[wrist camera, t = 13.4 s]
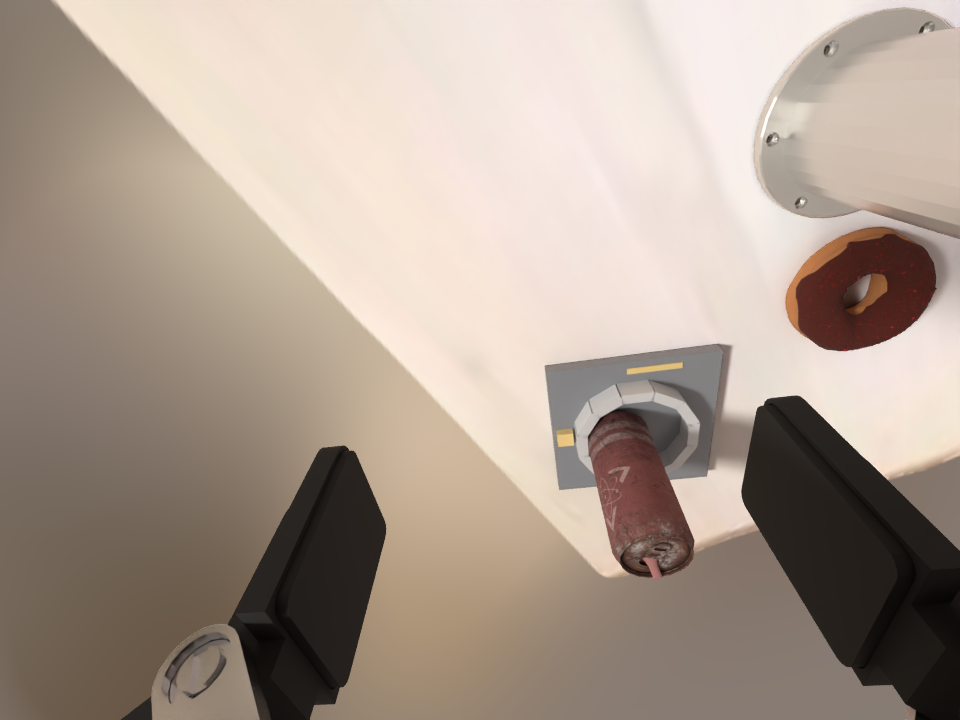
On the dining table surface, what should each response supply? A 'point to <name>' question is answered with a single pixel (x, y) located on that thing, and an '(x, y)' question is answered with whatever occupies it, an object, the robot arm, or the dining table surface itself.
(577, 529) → the dining table surface
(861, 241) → the donut
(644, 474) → the can
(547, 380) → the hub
